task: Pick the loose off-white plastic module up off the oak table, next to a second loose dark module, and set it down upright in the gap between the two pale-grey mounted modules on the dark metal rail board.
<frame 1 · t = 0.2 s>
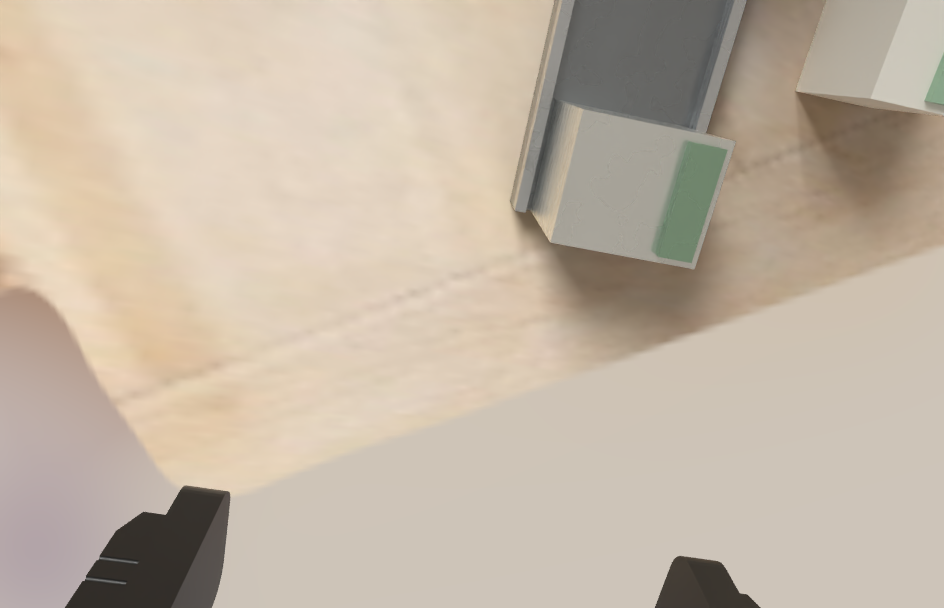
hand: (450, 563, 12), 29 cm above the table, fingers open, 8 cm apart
module: (852, 43, 37), on the table
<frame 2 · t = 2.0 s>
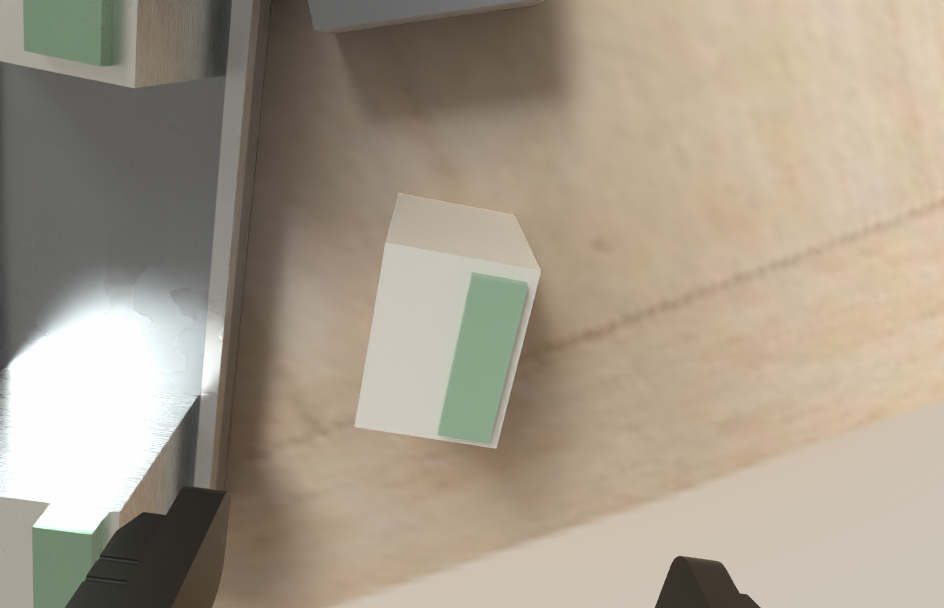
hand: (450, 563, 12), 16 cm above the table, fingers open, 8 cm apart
rail board: (124, 221, 25), on the table
module: (442, 277, 27), on the table
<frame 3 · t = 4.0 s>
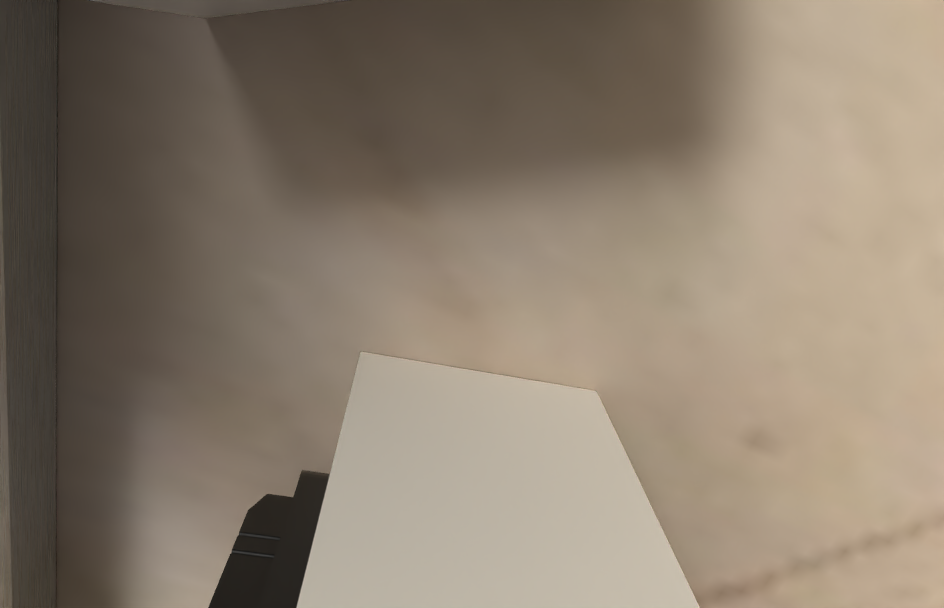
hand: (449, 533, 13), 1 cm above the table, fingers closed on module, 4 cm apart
module: (449, 504, 14), on the table, touching gripper
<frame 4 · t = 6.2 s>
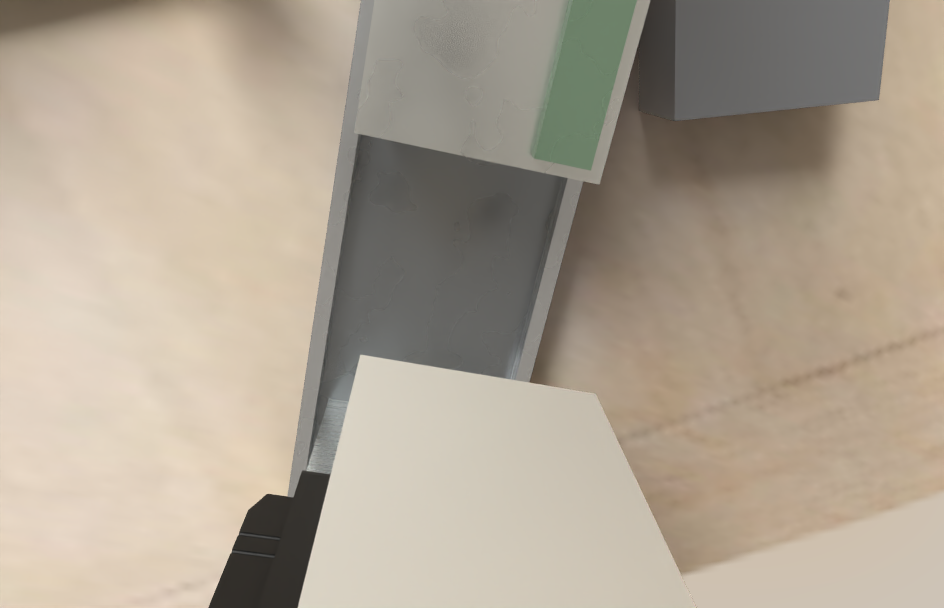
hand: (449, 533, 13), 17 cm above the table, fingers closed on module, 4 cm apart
rail board: (437, 271, 29), on the table
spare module: (727, 21, 26), on the table
module: (449, 506, 14), point 16 cm above the table, touching gripper
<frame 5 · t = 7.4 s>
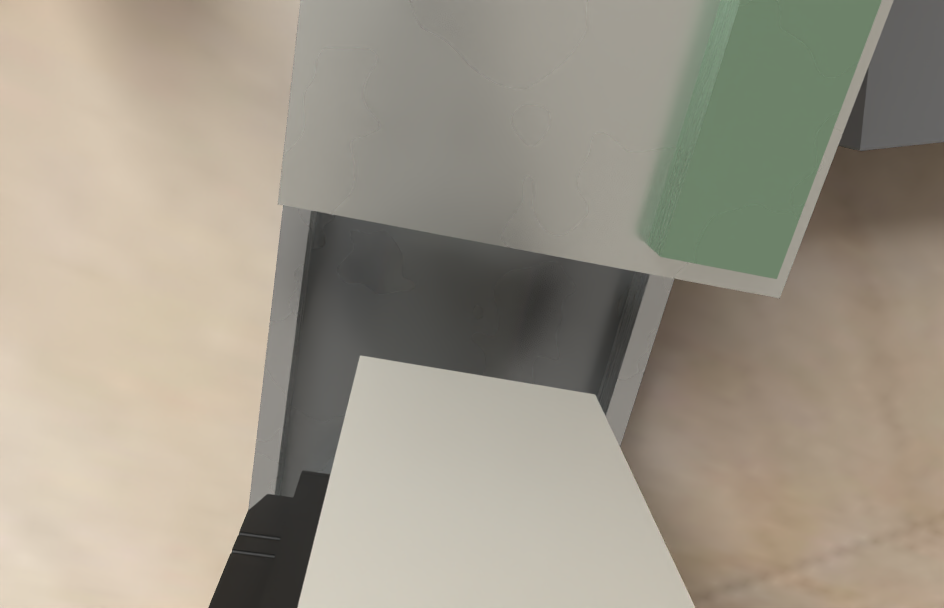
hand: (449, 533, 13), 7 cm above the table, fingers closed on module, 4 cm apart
rail board: (446, 370, 19), on the table
module: (449, 507, 14), point 6 cm above the table, touching gripper
when the fingers open (4 cm above the table, at t = 8.5 s): module drops 1 cm, resting on rail board.
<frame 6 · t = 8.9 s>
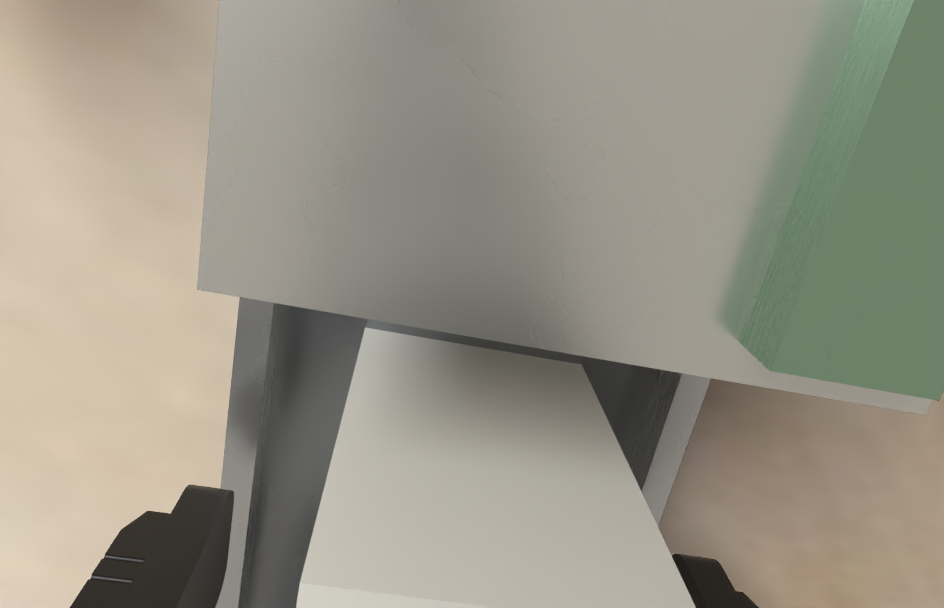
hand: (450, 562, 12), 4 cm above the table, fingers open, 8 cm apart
rail board: (446, 433, 16), on the table
module: (447, 470, 15), point 1 cm above the table, touching rail board
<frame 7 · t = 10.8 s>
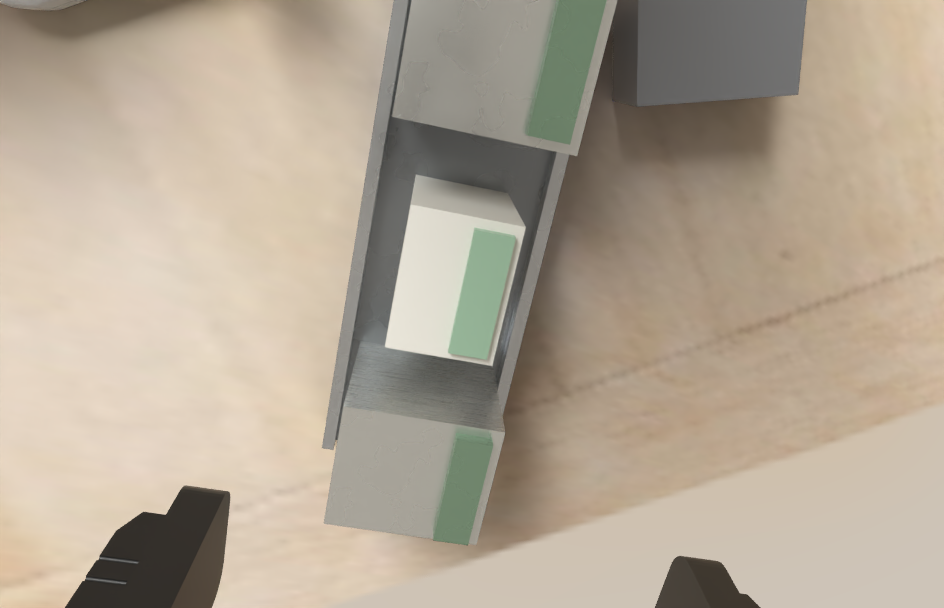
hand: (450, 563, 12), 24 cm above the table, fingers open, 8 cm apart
rail board: (449, 235, 35), on the table
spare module: (684, 29, 33), on the table
module: (449, 243, 34), point 1 cm above the table, touching rail board
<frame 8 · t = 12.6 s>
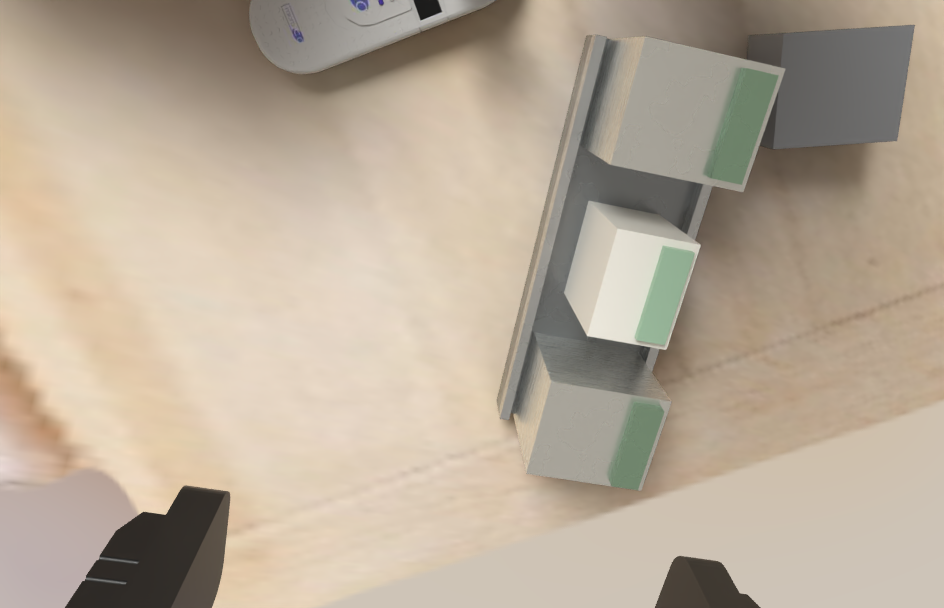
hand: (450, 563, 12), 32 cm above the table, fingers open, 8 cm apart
rail board: (605, 247, 44), on the table
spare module: (800, 85, 41), on the table
module: (610, 254, 42), point 1 cm above the table, touching rail board
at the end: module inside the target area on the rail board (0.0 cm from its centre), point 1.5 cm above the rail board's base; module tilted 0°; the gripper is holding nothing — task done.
